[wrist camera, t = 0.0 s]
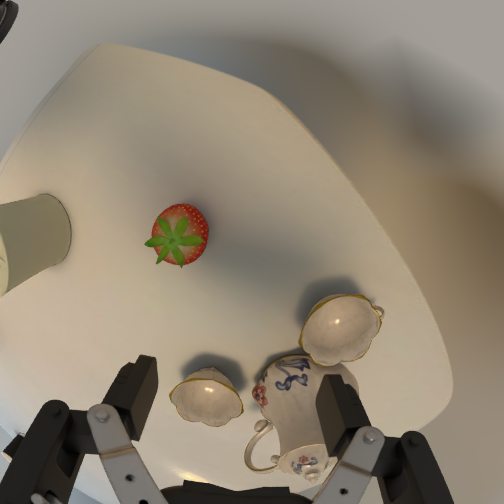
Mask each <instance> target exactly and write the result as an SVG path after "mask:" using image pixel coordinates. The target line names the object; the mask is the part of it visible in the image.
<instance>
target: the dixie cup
mask: <svg viewBox="0 0 504 504" xmlns="http://www.w3.org/2000/svg"><path fill="white" fill-rule="evenodd" d="M24 436H25V435H24V434H23V433H20V434H18V435H17V436H16V437H15V438H14V439H13V441H12V442H11V443H10V444H9V445H8V446H7V447H6V449H4V451H3V452H1V454H2V455H3V456H4V457H5V459H6V460H8V461H9V462H10V463H11V461H12V459H13V457H14V455H15V453H16V451H17V449H18V447H19V445H20V444H21V442H22V440H23V438H24Z"/></svg>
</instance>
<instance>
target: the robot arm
mask: <svg viewBox="0 0 504 504" xmlns="http://www.w3.org/2000/svg"><path fill="white" fill-rule="evenodd" d="M8 4H9V3H8V2H6V0H0V27H1V25H2V23H3V21H4V19H5V17H6V14H7V10H8V9H7V6H8ZM157 389H158V373H157V361H156V358H155V357H151V356H146V355H139V357H138V359H137V361H136V363H135V364H134V363H130V362H129V363H127V364H126V365H125V366H123V367H122V368H121V369H120V371H119V373H118V374H117V376H116V378H115V380H114V382H113V383H112V385H111V387H110V388H109V390H108V392H107V394H106V396H105V397H104V399H103V401H102V403H101V404H97V405H94V406H92V407H91V408H90V409H89V410H88V411H81V410H70V409H69V407H68V405H67V404H66V403H65V402H63V401H60V400H50V401H48V402H46V403H45V404H44V405H43V406H42V408H41V409H40V411H39V413H38V414H37V416H36V418H35V419H34V421H33V423H32V424H31V426H30V428H29V429H28V431H27V433H26V435H25V436H24V438H23V440H22V442H21V444H20V445H19V447H18V449H17V451H16V453H15V455H14V457H13V459H12V461H11V463H10V465H9V467H8V469H7V471H6V473H5V475H4V477H3V479H2V481H1V483H0V504H68V501H69V498H70V495H71V492H72V489H73V486H74V483H75V480H76V477H77V475H78V472H79V469H80V466H81V464H82V461H83V458H84V456H85V454H97V455H99V457H100V460H101V462H102V465H103V467H104V469H105V472H106V474H107V476H108V479H109V481H110V483H111V485H112V487H113V489H114V492H115V494H116V496H117V498H118V500H119V502H120V504H358V503H359V501H360V500H361V498H362V496H363V494H364V492H365V490H366V488H367V486H368V484H369V482H370V480H371V478H372V476H375V477H377V480H378V484H379V488H380V491H381V495H382V499H383V503H384V504H454V502H453V499H452V497H451V494H450V492H449V489H448V487H447V485H446V482H445V480H444V477H443V475H442V473H441V471H440V468H439V466H438V464H437V461H436V460H435V457H434V455H433V453H432V451H431V448H430V446H429V444H428V442H427V440H426V438H425V437H424V436H423V435H422V434H421V433H419V432H417V431H408V432H406V433H404V434H403V435H402V437H401V438H397V437H387V436H384V434H383V433H382V432H381V431H380V430H379V429H377V428H375V427H372V426H371V423H370V421H369V419H368V416H367V414H366V412H365V409H364V407H363V405H362V403H361V400H360V399H359V396H358V394H357V391H356V390H355V389H354V388H353V387H352V386H351V385H350V384H345V383H344V381H343V379H342V376H341V375H340V374H325V375H324V376H323V379H322V382H321V384H320V387H319V390H318V393H317V395H316V401H315V405H316V410H317V414H318V418H319V422H320V426H321V430H322V433H323V437H324V441H325V445H326V449H327V453H328V457H337V460H338V461H337V463H336V464H335V466H334V468H333V469H332V471H331V472H330V474H329V475H328V477H327V478H326V480H325V481H324V483H323V484H322V486H321V487H320V488H319V490H318V491H317V493H316V494H315V495H314V497H313V498H312V499H311V500H310V499H308V498H306V497H304V496H301V495H298V494H295V493H290V490H289V487H261V488H256V489H250V490H243V491H233V490H230V489H226V488H223V487H219V486H216V485H213V484H210V483H202V482H195V481H188V480H184V482H183V485H181V486H172V487H167V488H164V489H161V490H159V488H158V487H157V485H156V483H155V482H154V480H153V478H152V477H151V475H150V473H149V472H148V470H147V468H146V466H145V465H144V463H143V461H142V459H141V457H140V455H139V453H138V452H137V450H136V448H135V447H134V446H133V444H132V442H131V440H135V441H139V440H140V437H141V434H142V431H143V429H144V426H145V423H146V420H147V417H148V415H149V412H150V409H151V406H152V404H153V401H154V398H155V396H156V393H157Z"/></svg>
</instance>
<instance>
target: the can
mask: <svg viewBox="0 0 504 504" xmlns="http://www.w3.org/2000/svg"><path fill="white" fill-rule="evenodd" d="M70 241H71V229H70V223H69V219H68V216H67V214H66V211H65V209H64V208H63V206H62V205H61V203H60V202H59V201H58V200H57V199H56V198H54V197H52V196H50V195H47V194H41V195H38V196H36V197H32V198H28V199H24V200H19V201H15V202H10V203H6V204H2V205H0V298H1V297H2V296H3V295H4V294H6V293H7V292H8V291H10V290H11V289H13V288H14V287H16V286H17V285H19V284H21V283H22V282H24V281H26V280H27V279H29V278H30V277H32V276H34V275H36V274H37V273H39V272H41V271H42V270H44V269H46V268H48V267H50V266H52V265H55V264H57V263H59V262H61V261H62V260H63V259H64V257H65V256H66V254H67V252H68V250H69V246H70Z"/></svg>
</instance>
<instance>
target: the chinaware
mask: <svg viewBox="0 0 504 504" xmlns="http://www.w3.org/2000/svg"><path fill="white" fill-rule="evenodd" d="M375 309H376V310H379V311H381V312H382V315H381V316H379V314H378V313H377V311H376V310H375ZM383 318H384V310H383V309H382V308H381V307H379V306H376V305H372V304H371V303H370V301H369V300H368V299H367V298H366V297H365V296H364V295H362V294H349V295H346V294H333V295H330V296H327V297H325V298H323V299H321V300H320V301H319V302H317V303H316V304H315V305H314V306H313V308H312V309H311V311H310V312H309V314H308V317H307V320H306V322H305V324H304V326H303V329H302V331H301V334H300V338H299V345H300V346H301V348H302V350H303V351H304V352H306V353H307V354H310V356H308V355H301V354H295V355H288V356H285V357H282V358H279V359H277V360H276V361H274V362H273V363H271V364H270V365H269V366H268V367H267V368H266V370H265V371H264V373H263V375H262V378H261V380H260V381H259V382H258V383H257V385H256V386H255V387H254V388H253V390H252V395H253V397H254V399H255V400H256V402H257V404H258V406H259V408H260V411H261V414H262V415H263V416H264V417H265V418H266V419H267V420H259V421H258V422H257V423H256V424H255V426H254V429H255V431H256V432H259V433H258V434H256V435H255V436H254V437H253V438H252V439H251V441H250V442H249V444H248V445H247V447H246V450H245V454H244V459H245V464H246V466H247V467H248V468H249V469H250V470H251V471H253V472H255V473H259V474H267V473H270V472H273V471H276V470H278V469H280V470H281V471H282V472H284V473H289V474H292V475H294V474H298V475H300V476H305V479H307V480H309V481H310V482H311V483H315V482H316V481H317V480H318V477H320V475H321V474H320V473H321V472H323V471H324V470H325V469H327V468H328V467H329V466H331V465H334V464H335V463H336V462H337V457H328V453H327V449H326V445H325V441H324V437H323V433H322V430H321V426H320V422H319V418H318V414H317V410H316V405H315V401H316V395H317V393H318V390H319V387H320V384H321V382H322V379H323V376H324V375H325V374H340V375H341V376H342V379H343V381H344V383H345V384H350V385H351V386H352V387H353V388H354V389H355V390H356V391H357V394H358V396H359V387H358V383H357V381H356V379H355V377H354V375H353V374H352V373H351V372H350V371H349V370H348V369H347V368H346V367H345V366H344V365H343V364H340V362H341V360H342V361H343V362H346V361H355V360H357V359H359V358H361V357H363V355H364V354H365V353H366V352H367V351H368V349H369V347H370V344H371V341H372V340H371V338H374V337H375V336H376V335H377V333H378V332H379V330H380V327H381V324H382V322H381V320H382V319H383ZM169 397H170V400H171V402H172V403H173V404H174V405H176V408H177V411H178V413H179V415H180V416H181V417H182V418H183V419H185V420H188V421H191V422H200V421H201V420H202V422H203V423H205V424H207V425H209V426H215V427H219V426H222V425H225V424H226V423H228V422H229V421H230V420H231V417H232V418H236V417H239V416H240V415H241V414H242V413H243V411H244V409H243V404H242V402H241V399H240V397H239V395H238V393H237V392H236V390H235V388H234V386H233V385H232V383H231V382H230V381H229V380H228V379H227V378H226V377H225V376H224V374H222V373H221V372H220V371H218V370H217V369H215V368H214V367H212V368H204V369H200V371H197V372H194V373H192V374H191V375H189V376H188V377H186V379H185V380H184V381H183V382H181V383H180V384H179V385H177V386H176V387H175V388H174V389H173V390H172V391H171V392H170V394H169ZM268 420H269V421H270V422H271V423H270V422H268ZM273 425H274V426H275V428H276V430H277V432H278V436H279V441H280V456H278V455H273V456H272V457H271V462H273V463H276V464H277V465H275V466H273V467H269V468H265V469H257V468H255V467H254V466H253V465H252V462H251V454H252V450H253V448H254V446H255V444H256V443H257V442H258V440H259V439H260V438H261V437H262V436H263V435H265V434H266V433H268V432H269V431H271V430H272V429H273Z"/></svg>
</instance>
